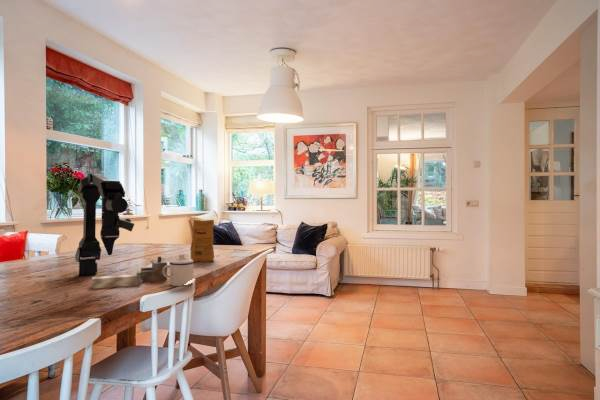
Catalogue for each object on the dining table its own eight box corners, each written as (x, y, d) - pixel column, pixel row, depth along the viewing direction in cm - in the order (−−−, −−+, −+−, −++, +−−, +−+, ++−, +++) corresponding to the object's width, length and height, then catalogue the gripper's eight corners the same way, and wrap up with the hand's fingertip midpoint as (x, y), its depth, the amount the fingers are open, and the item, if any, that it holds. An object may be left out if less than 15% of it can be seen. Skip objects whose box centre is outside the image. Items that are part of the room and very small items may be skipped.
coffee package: (191, 259, 212) (191, 219, 212) (214, 259, 214) (215, 219, 214) (189, 262, 202) (189, 220, 202) (213, 262, 204) (214, 220, 204)
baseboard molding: (129, 276, 167) (157, 276, 169) (129, 270, 167) (157, 270, 169) (149, 264, 198) (173, 264, 200) (149, 258, 198) (173, 258, 200)
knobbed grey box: (142, 281, 156) (142, 259, 156) (140, 277, 164) (141, 256, 164) (166, 279, 160) (167, 257, 160) (164, 275, 168) (164, 254, 168)
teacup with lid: (196, 281, 157) (196, 252, 157) (189, 286, 148) (190, 256, 148) (166, 281, 157) (166, 252, 157) (158, 286, 148) (158, 255, 148)
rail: (91, 288, 143) (91, 275, 143) (92, 286, 147) (92, 273, 147) (141, 284, 151) (141, 272, 150) (140, 282, 154) (140, 270, 154)
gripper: (134, 212, 143) (134, 255, 143) (131, 211, 160) (131, 249, 160) (100, 213, 138) (100, 257, 138) (101, 212, 155) (101, 251, 155)
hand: (109, 253), depth 148 cm, fingers open, 9 cm apart
